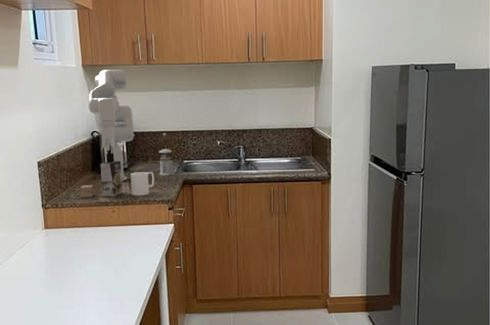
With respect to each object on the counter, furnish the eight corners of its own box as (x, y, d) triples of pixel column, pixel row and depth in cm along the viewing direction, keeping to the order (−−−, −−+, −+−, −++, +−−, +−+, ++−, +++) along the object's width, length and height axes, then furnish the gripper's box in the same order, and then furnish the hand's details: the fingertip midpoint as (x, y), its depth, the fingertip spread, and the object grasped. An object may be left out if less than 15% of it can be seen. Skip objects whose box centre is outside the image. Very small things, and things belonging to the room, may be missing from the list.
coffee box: (114, 196, 225) (112, 163, 223) (102, 196, 227) (99, 163, 225) (123, 192, 234) (120, 160, 232) (111, 192, 236) (108, 160, 233)
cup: (158, 192, 233) (157, 172, 231) (136, 196, 225) (135, 175, 224) (151, 190, 239) (149, 170, 237) (129, 193, 231) (127, 173, 230)
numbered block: (83, 195, 231) (82, 185, 230) (93, 195, 231) (92, 184, 231) (81, 197, 226) (80, 187, 225) (92, 197, 227) (91, 186, 226)
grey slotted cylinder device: (177, 172, 292) (174, 132, 289) (170, 175, 281) (168, 133, 277) (161, 172, 294) (159, 132, 290) (155, 175, 283) (152, 134, 279)
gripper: (101, 123, 232) (104, 160, 235) (97, 125, 218) (100, 164, 220) (117, 123, 234) (119, 159, 236) (114, 124, 219) (116, 163, 221)
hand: (110, 161), depth 228 cm, fingers closed
